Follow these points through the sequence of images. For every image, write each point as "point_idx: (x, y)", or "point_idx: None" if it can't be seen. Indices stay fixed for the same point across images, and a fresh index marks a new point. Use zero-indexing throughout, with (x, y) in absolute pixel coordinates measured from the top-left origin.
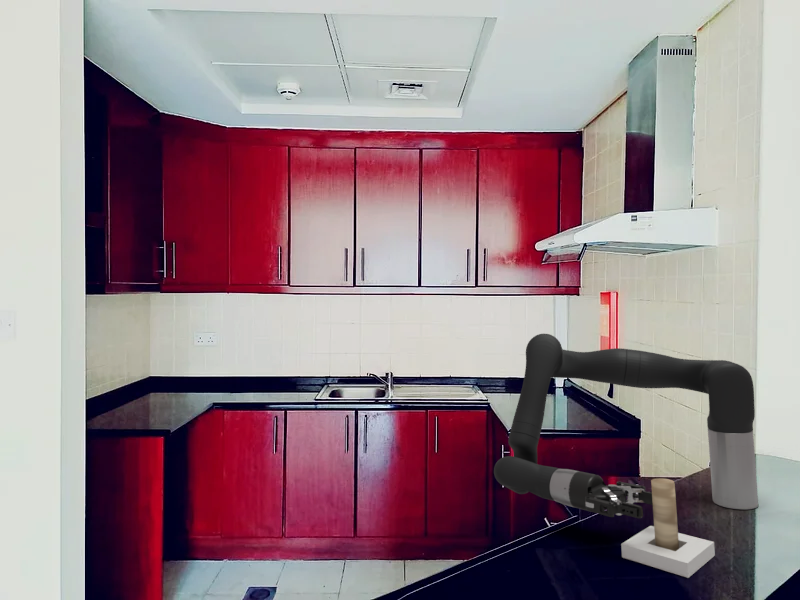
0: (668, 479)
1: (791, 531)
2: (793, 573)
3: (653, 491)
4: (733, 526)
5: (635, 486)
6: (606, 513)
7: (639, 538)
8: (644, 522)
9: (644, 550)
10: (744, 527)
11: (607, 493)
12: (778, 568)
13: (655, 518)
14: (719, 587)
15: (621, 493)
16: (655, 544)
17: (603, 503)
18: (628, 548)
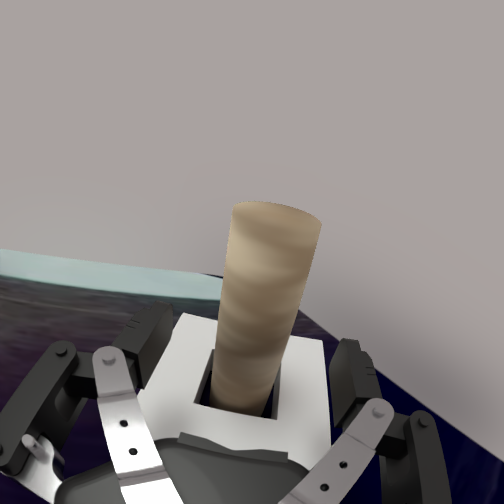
0: (237, 205)
1: (55, 257)
2: (198, 273)
3: (306, 266)
4: (33, 300)
5: (58, 378)
6: (408, 458)
7: (254, 444)
8: None
9: (328, 412)
10: (38, 290)
11: (348, 484)
12: (190, 281)
13: (283, 348)
14: (305, 329)
15: (211, 449)
16: (253, 409)
17: (437, 446)
18: None
